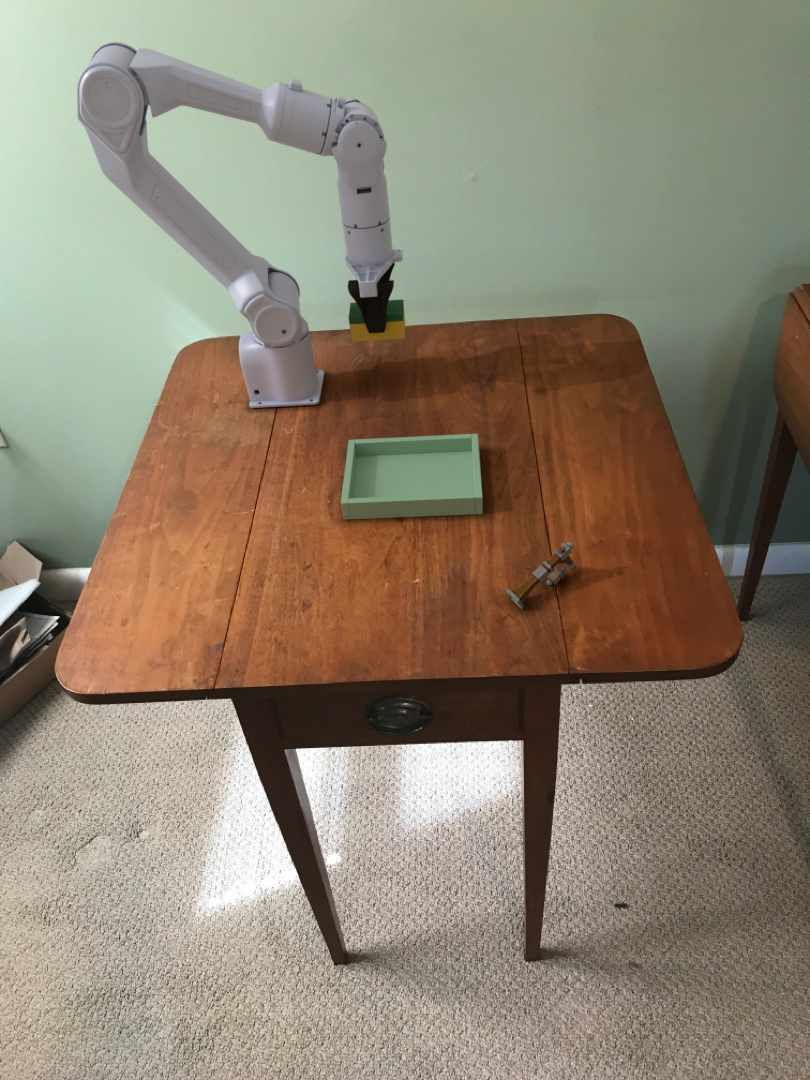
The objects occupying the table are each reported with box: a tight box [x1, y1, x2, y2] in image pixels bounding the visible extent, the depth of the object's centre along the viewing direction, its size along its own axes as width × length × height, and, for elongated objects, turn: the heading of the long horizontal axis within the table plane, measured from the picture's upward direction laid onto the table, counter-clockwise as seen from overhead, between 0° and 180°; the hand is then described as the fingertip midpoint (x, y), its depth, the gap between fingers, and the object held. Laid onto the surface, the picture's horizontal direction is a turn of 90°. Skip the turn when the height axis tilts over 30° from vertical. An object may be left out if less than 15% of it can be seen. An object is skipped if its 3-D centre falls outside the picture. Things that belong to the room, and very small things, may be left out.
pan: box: [340, 433, 484, 521], centre depth 89 cm, size 16×12×2 cm
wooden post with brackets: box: [505, 541, 577, 610], centre depth 76 cm, size 2×8×4 cm, turn 123°
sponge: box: [348, 298, 406, 343], centre depth 101 cm, size 7×4×4 cm, turn 89°
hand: (377, 323), depth 101 cm, fingers closed on sponge, 4 cm apart
